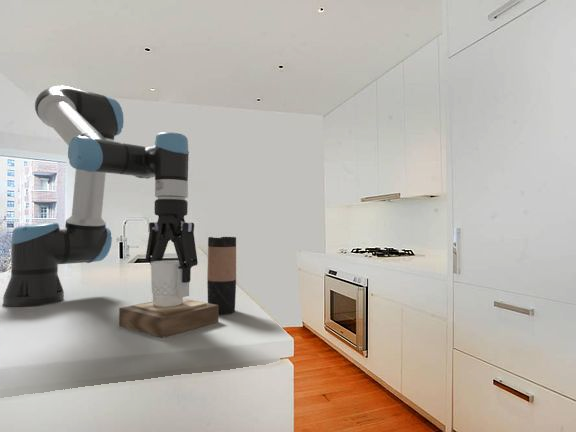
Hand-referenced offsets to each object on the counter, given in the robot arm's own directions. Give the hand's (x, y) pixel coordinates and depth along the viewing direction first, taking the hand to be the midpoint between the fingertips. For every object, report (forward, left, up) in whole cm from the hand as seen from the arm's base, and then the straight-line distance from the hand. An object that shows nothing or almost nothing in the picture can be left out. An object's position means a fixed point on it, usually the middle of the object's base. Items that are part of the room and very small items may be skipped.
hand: (170, 294), depth 91 cm
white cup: (0, 0, -3) cm, 3 cm away
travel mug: (+1, +16, -7) cm, 18 cm away
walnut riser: (0, 0, -7) cm, 7 cm away
